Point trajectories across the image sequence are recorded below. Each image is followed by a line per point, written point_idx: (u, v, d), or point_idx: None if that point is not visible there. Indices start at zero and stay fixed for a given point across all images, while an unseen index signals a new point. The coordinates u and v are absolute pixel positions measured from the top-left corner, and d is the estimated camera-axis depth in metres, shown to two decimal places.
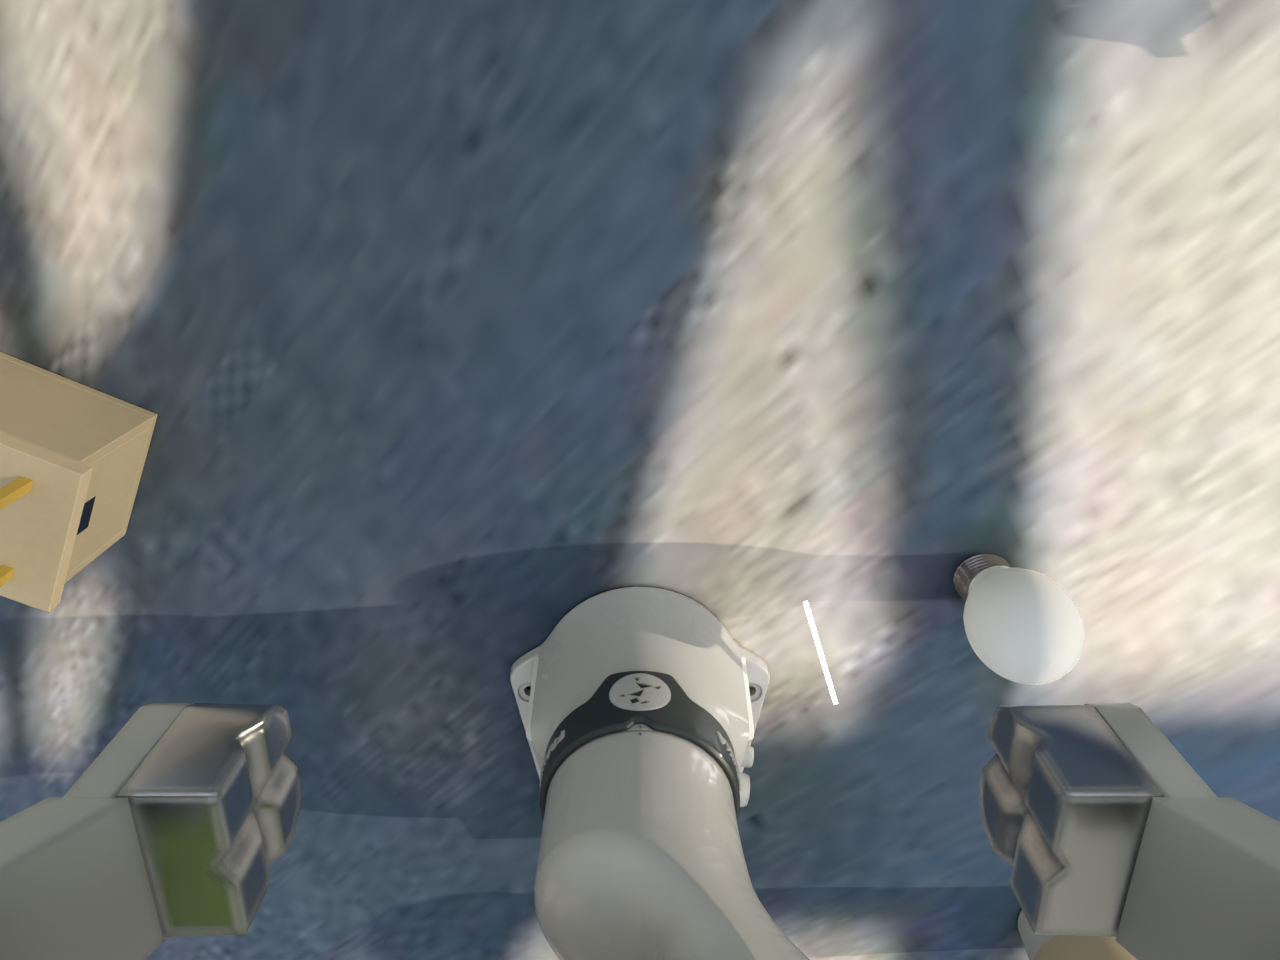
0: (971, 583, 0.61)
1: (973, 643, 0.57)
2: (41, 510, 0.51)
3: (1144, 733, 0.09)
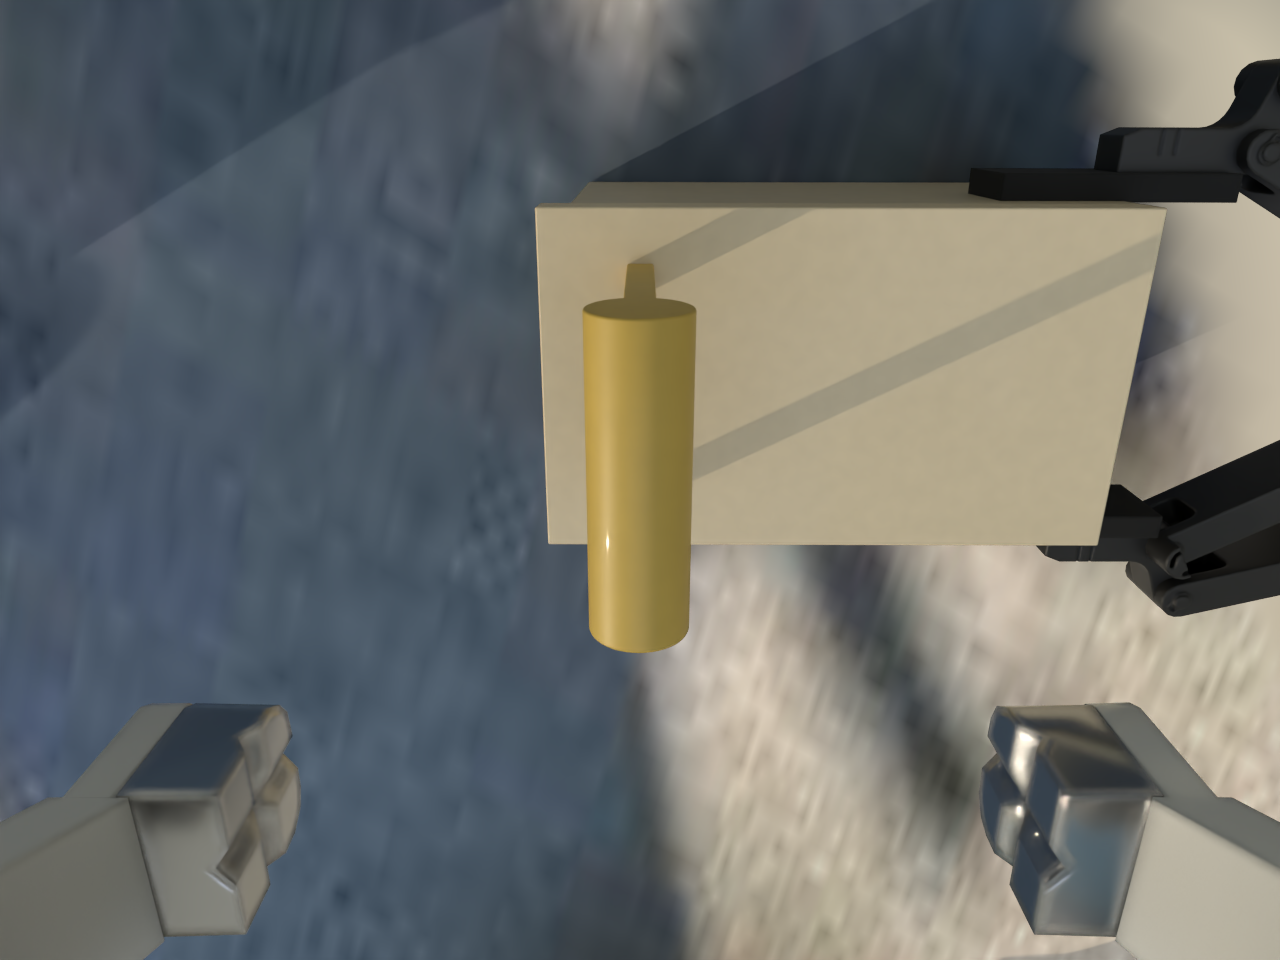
0: None
1: None
2: None
3: (1144, 733, 0.09)
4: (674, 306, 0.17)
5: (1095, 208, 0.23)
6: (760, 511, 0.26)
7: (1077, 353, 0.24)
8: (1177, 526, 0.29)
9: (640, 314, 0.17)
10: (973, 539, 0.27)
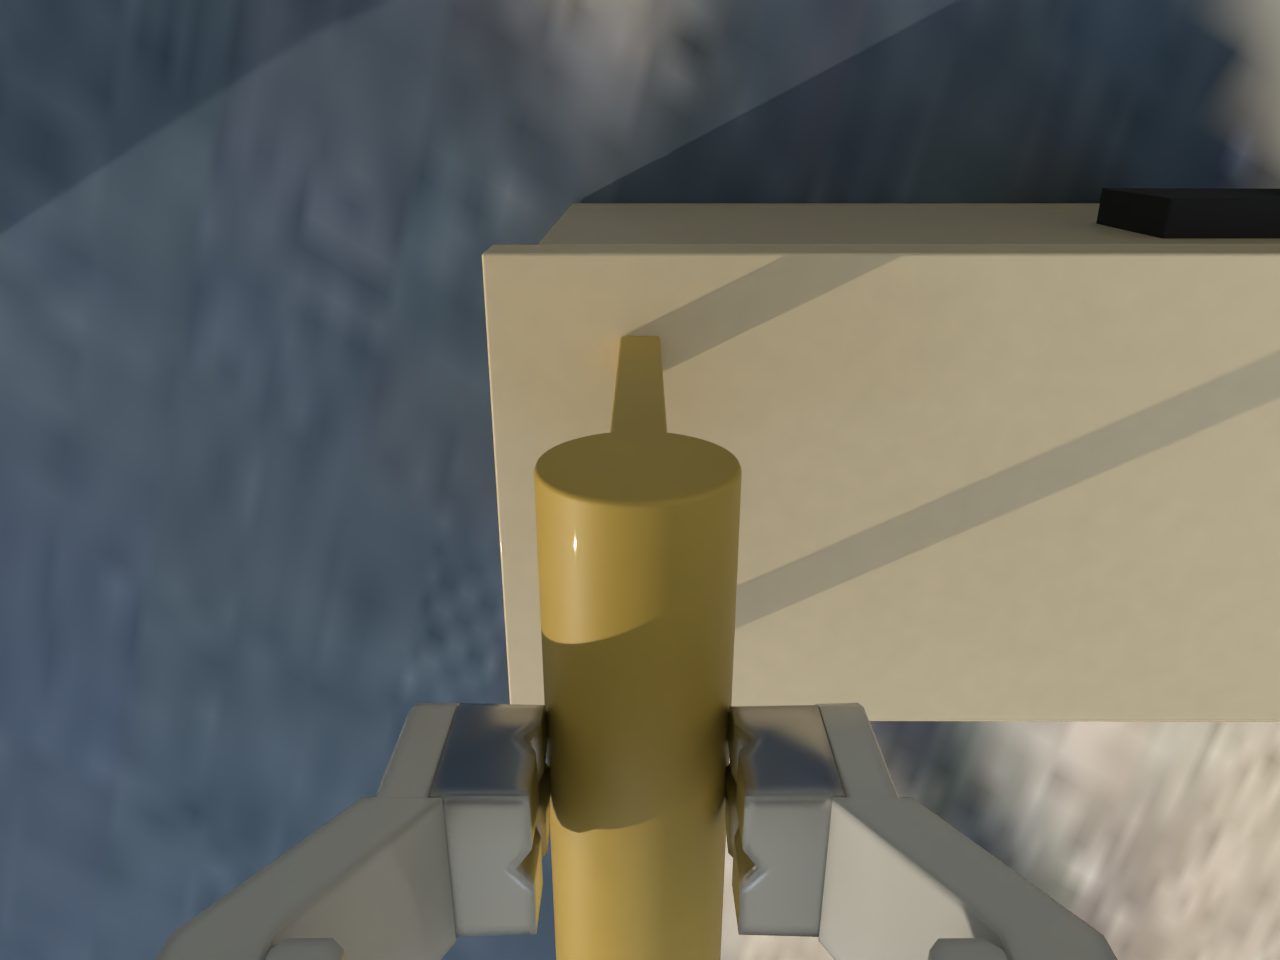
0: None
1: None
2: None
3: (855, 732, 0.09)
4: (701, 458, 0.10)
5: None
6: (811, 677, 0.18)
7: None
8: None
9: (638, 484, 0.09)
10: (1111, 714, 0.19)
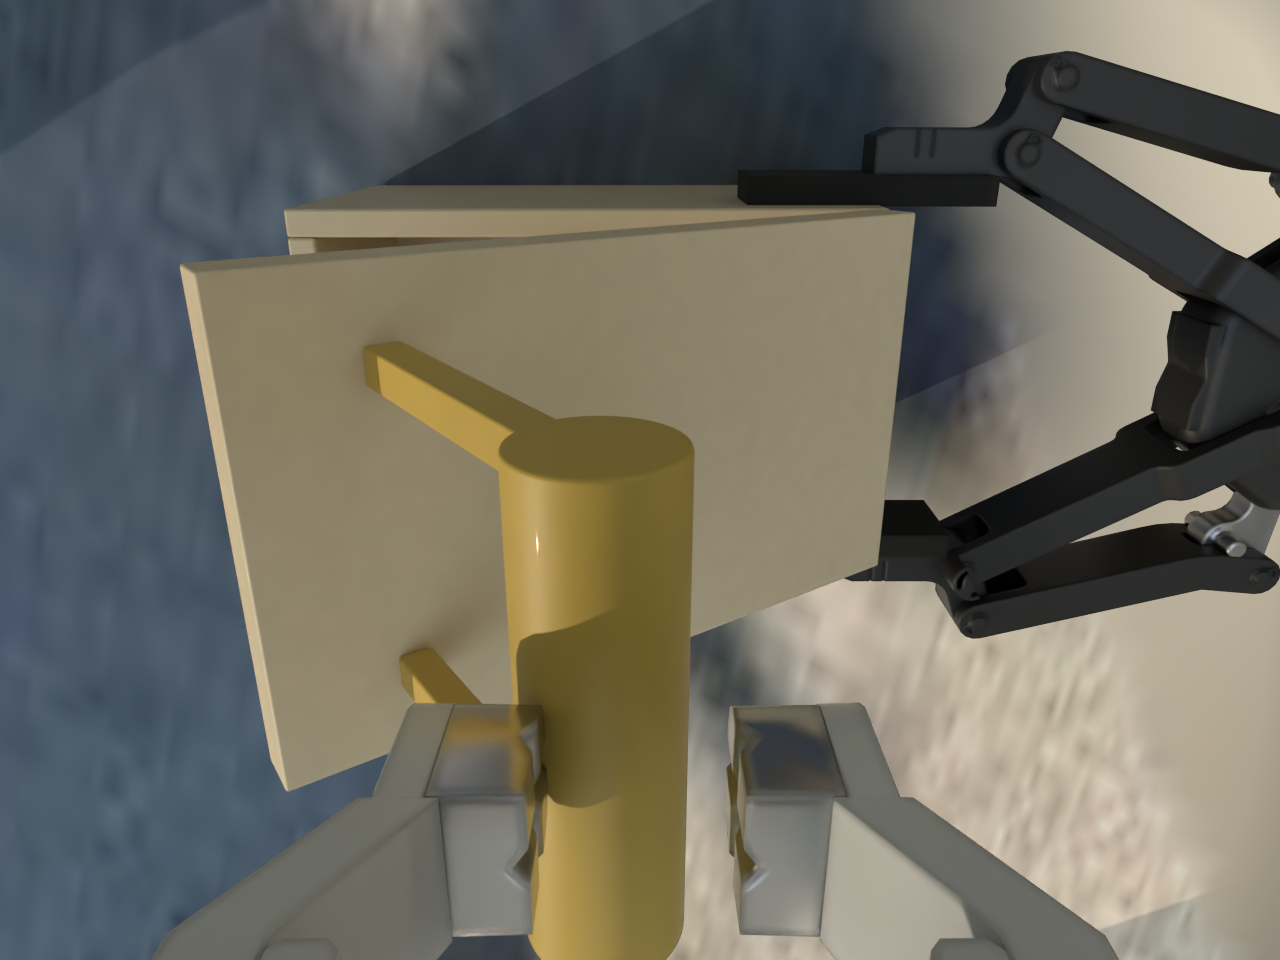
0: None
1: None
2: (353, 622, 0.17)
3: (856, 733, 0.09)
4: (640, 430, 0.10)
5: (861, 217, 0.21)
6: None
7: (855, 374, 0.22)
8: (970, 544, 0.28)
9: (630, 460, 0.10)
10: (781, 595, 0.23)
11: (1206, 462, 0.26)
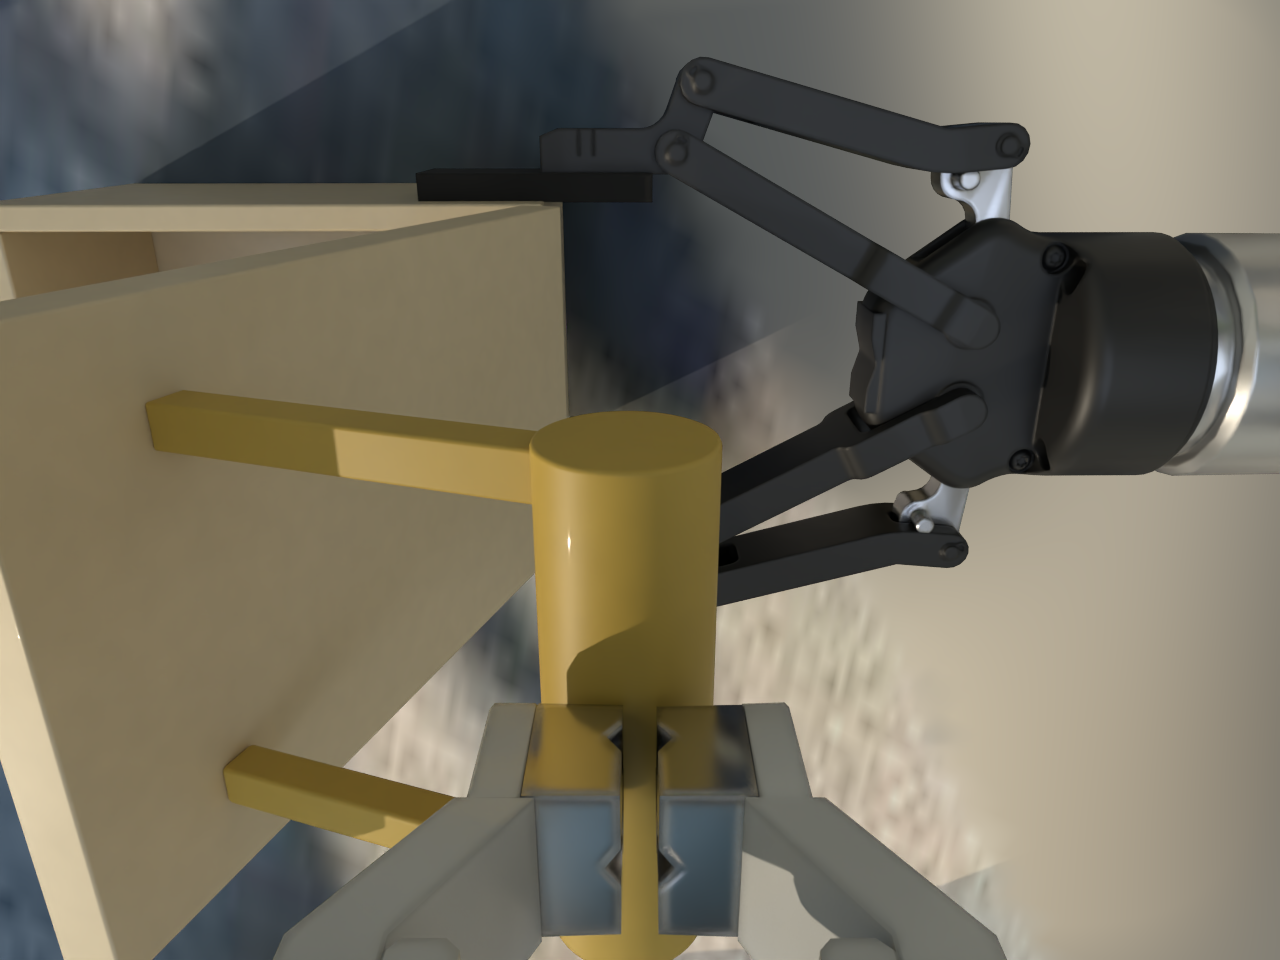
0: None
1: None
2: (170, 745, 0.13)
3: (777, 733, 0.09)
4: (637, 420, 0.11)
5: (526, 213, 0.22)
6: (370, 689, 0.18)
7: (539, 362, 0.24)
8: None
9: (680, 443, 0.10)
10: (514, 586, 0.24)
11: (878, 443, 0.28)
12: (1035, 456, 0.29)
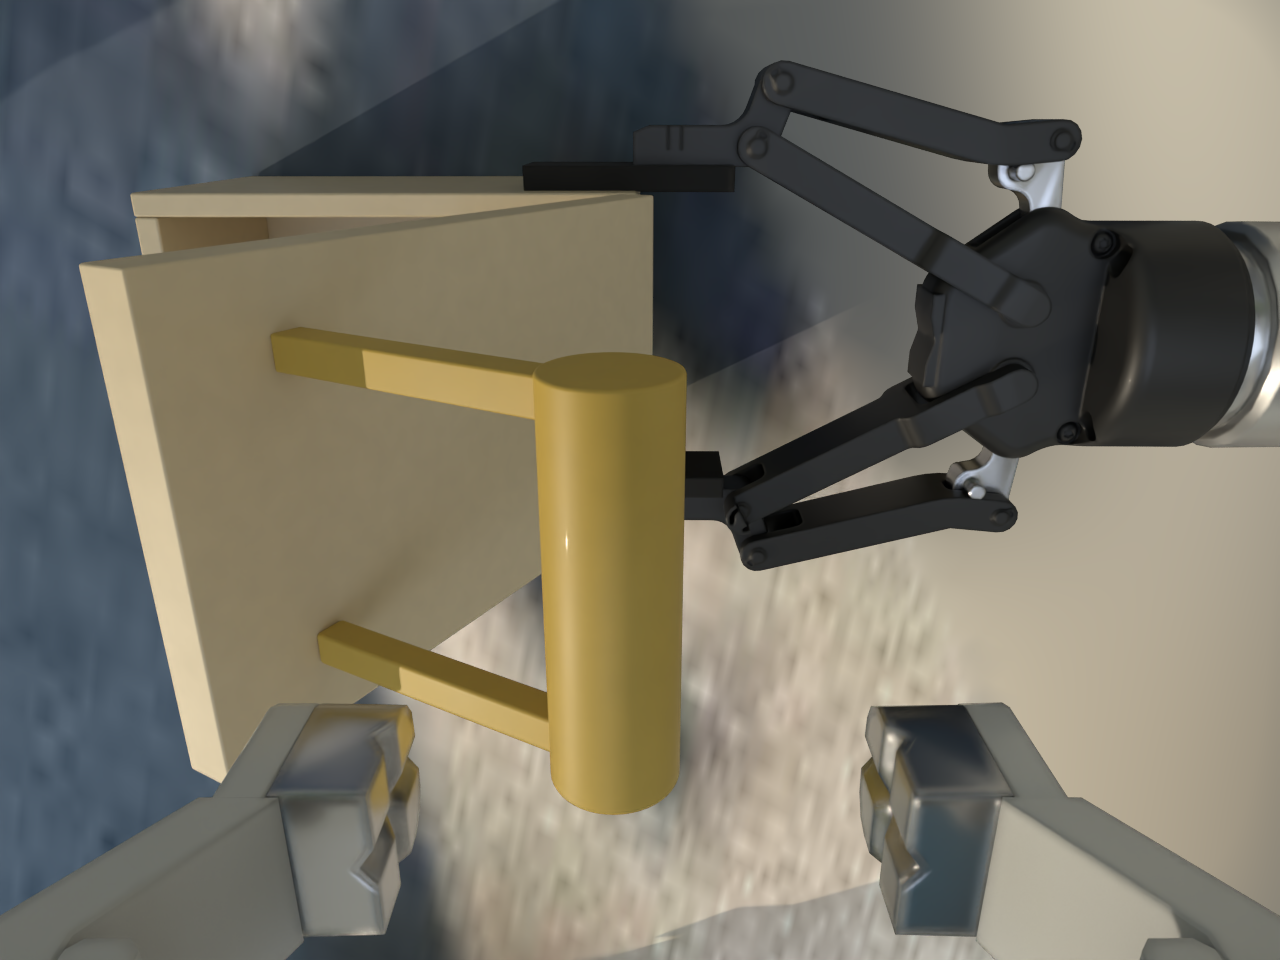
0: None
1: None
2: (276, 606, 0.17)
3: (1008, 733, 0.09)
4: (627, 358, 0.13)
5: (619, 200, 0.25)
6: (448, 596, 0.21)
7: (626, 334, 0.26)
8: (747, 487, 0.32)
9: (650, 375, 0.13)
10: None
11: (936, 413, 0.30)
12: (1081, 428, 0.31)
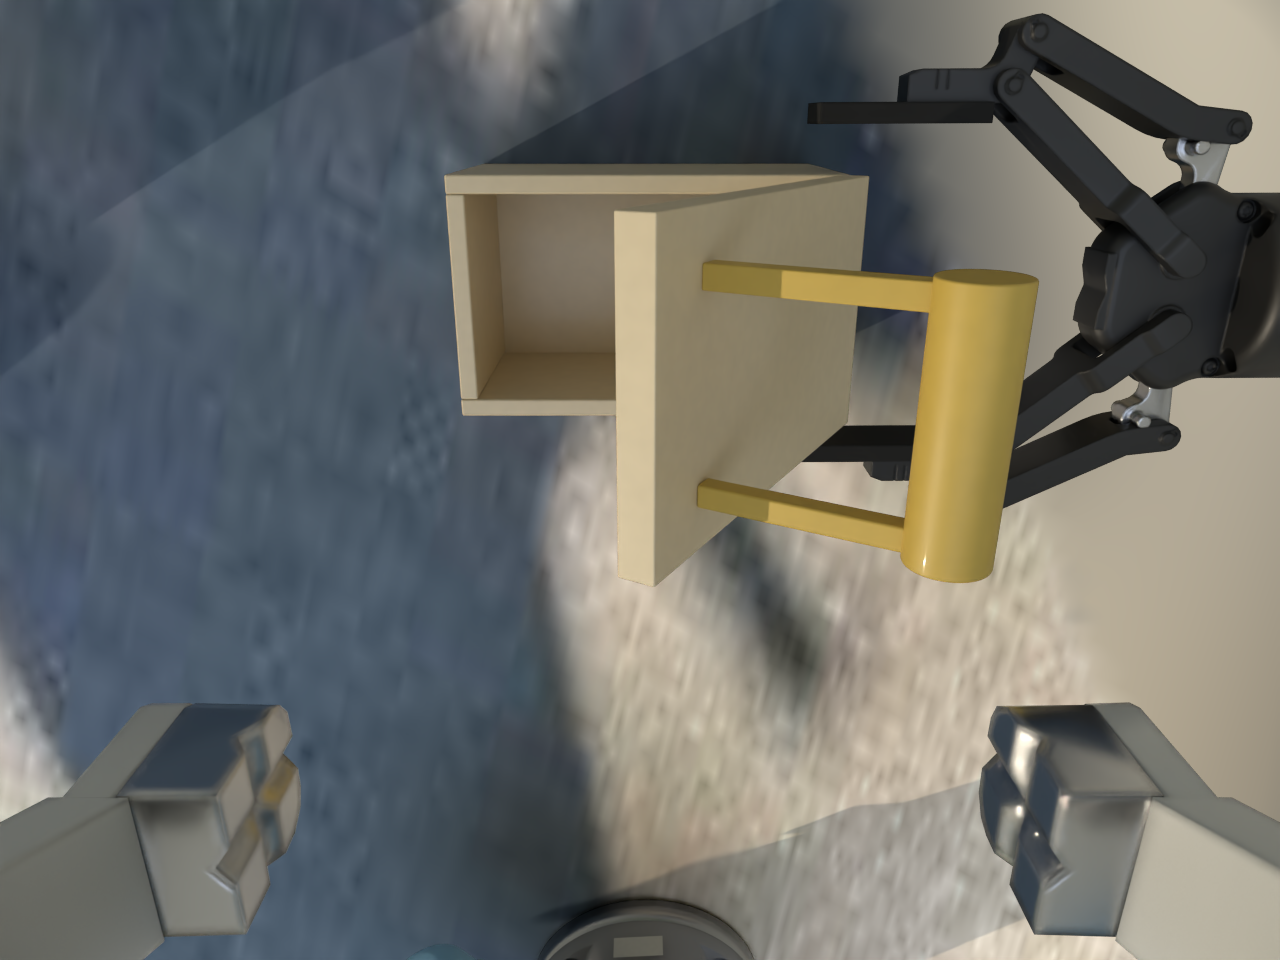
0: None
1: None
2: (684, 459, 0.24)
3: (1144, 733, 0.09)
4: (986, 271, 0.20)
5: (851, 178, 0.32)
6: (750, 475, 0.28)
7: None
8: None
9: (1016, 278, 0.20)
10: (816, 444, 0.34)
11: (1111, 362, 0.37)
12: (1221, 363, 0.38)
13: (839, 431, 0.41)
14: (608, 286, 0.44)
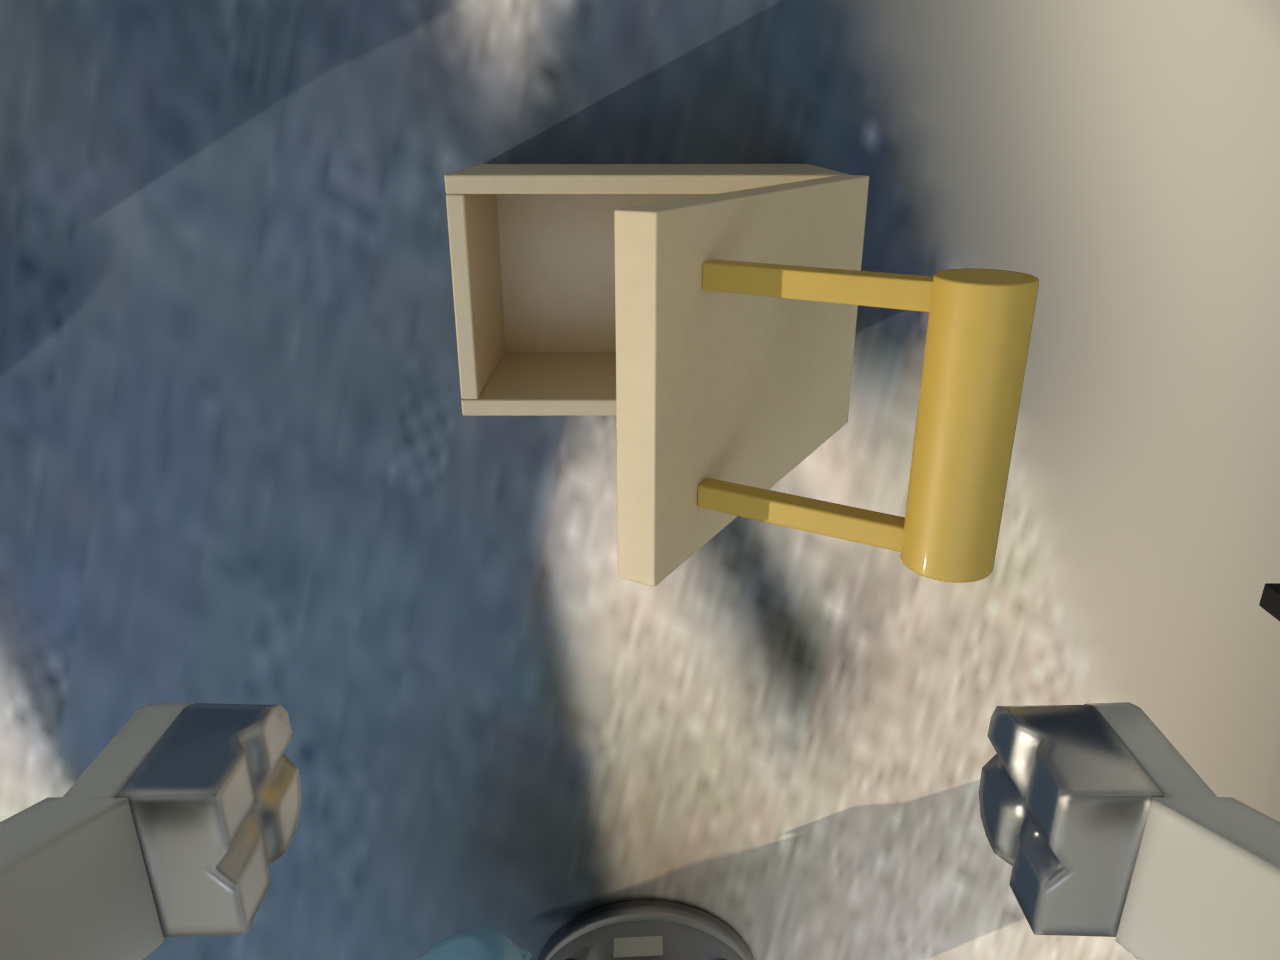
0: None
1: None
2: (684, 459, 0.24)
3: (1144, 733, 0.09)
4: (986, 271, 0.20)
5: (851, 178, 0.32)
6: (750, 475, 0.28)
7: None
8: None
9: (1016, 278, 0.20)
10: (816, 444, 0.34)
11: None
12: None
13: None
14: (608, 286, 0.44)
